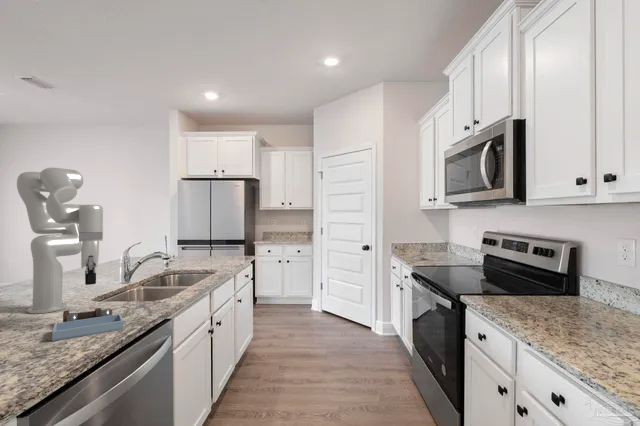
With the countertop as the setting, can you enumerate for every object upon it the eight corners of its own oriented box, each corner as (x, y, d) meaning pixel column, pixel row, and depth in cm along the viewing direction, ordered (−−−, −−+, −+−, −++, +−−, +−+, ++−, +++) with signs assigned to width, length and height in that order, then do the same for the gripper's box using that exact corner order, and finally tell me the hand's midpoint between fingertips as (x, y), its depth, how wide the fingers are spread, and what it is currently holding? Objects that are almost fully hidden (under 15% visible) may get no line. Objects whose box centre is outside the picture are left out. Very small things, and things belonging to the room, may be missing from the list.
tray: (54, 332, 109) (54, 323, 109) (120, 321, 121) (120, 313, 121) (52, 341, 101) (52, 332, 101) (123, 329, 113) (123, 320, 113)
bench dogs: (66, 327, 114) (67, 314, 114) (110, 320, 122) (110, 308, 122) (66, 329, 112) (66, 316, 112) (110, 322, 120) (110, 310, 120)
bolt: (111, 322, 125) (62, 329, 116) (110, 313, 129) (62, 319, 119) (113, 311, 123) (63, 317, 113) (112, 302, 126) (63, 307, 117)
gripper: (78, 236, 126) (78, 280, 125) (78, 238, 112) (77, 287, 111) (101, 235, 130) (101, 277, 130) (103, 237, 116) (103, 284, 116)
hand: (90, 282), depth 121 cm, fingers open, 9 cm apart
